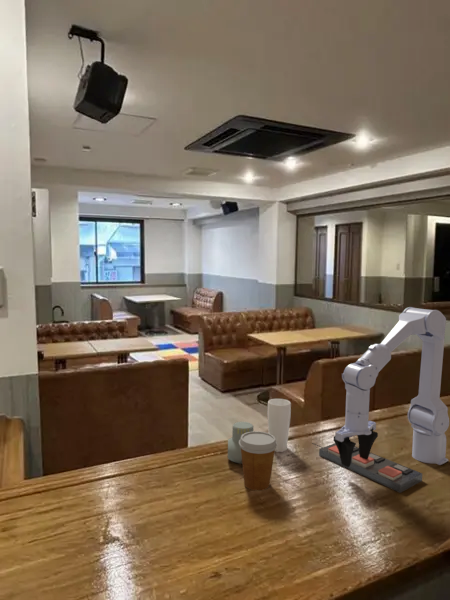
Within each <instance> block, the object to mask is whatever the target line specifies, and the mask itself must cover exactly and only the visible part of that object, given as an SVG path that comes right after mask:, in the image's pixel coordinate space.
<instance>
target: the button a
mask: <svg viewBox="0 0 450 600" xmlns="http://www.w3.org/2000/svg"><path fill="white" fill-rule="evenodd" d="M328 452H329V453H331V454H333V455H335V456H338V457H340V454H339V451H338V448H337V446H333V447H330V448H328Z"/></svg>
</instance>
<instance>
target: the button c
mask: <svg viewBox="0 0 450 600" xmlns="http://www.w3.org/2000/svg"><path fill="white" fill-rule="evenodd" d="M378 475H381V476H383V477H385V478H387V479H390V480H392V481H394V480H396V479H398V478H400V477H402V472H401V471H399V470H396V469H394V468H392V467H389V466H386V467H384V468H382V469H380V470H379V473H378Z"/></svg>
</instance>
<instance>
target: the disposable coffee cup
mask: <svg viewBox="0 0 450 600" xmlns="http://www.w3.org/2000/svg"><path fill="white" fill-rule="evenodd" d="M239 445H240V448H241V456H242V474H243V481H244V482H243V483H244V487H246V488H247V489H248V490H252V491H264V490H266V489H268V488H270V482H271V478H272V471H273V463H274V457H275V452H276V451H275V449H276V446H277V442H276V440H275V437H274V436H273V435H271V434H269V433H268V432H265V431H257V430H255V431H254V430H253V432H247V433H244V434H242V436H241V438H240V440H239Z"/></svg>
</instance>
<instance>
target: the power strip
mask: <svg viewBox="0 0 450 600" xmlns="http://www.w3.org/2000/svg"><path fill="white" fill-rule="evenodd" d="M311 444H312V445H314V446H317V447H318V448H319V451H318V456H320V457H322V458H324V459H326V460H327V461H330V462H331V463H335V464H337V465H339V466H341V467H343V468H345V469H347V470H350V471H352V472H354V473H356V474H359V475H360V476H362V477H365V478H367V479H370V480H371V481H373V482H375V483H378V484H380V485H382V486H384V487H387V488H388V489H391V490H393V491H396V492H397V493H399V494H400V493H403V492H404V491H407V490H409V489H410V488H411V487H414V486H415V485H417V484H419V483H421V482H423V473H422V472H419V471H417V470H415V469H412V468H410V467H407V466H405V465H402V464H399V463H397V462H395V461H393V460H390V459H387V458H385V457H383V456H380V455H377V454H376V453H372V452H370V454H369V457H371V458H373V459H374V464H373V465H371V466H369V467H367V468H363V467H360V466H358V465H356V464H354V463H352V458H351V464H350V467H346V466H344V465H342V463H341V458H340V457H338V456H335V455H333V454H331V453H329V452H328V448H330V447H333V446H336V444H335V442H334V443H331V444H329V445H326V446H320V445H318V444H316V443H314V442H311ZM356 455H359V446H356V445H355V447H354V449H353V452H352V457H354V456H356ZM386 466H389V467H392V468H394V469H396V470H399V471H401V472H402V477H400V478H398V479H396V480H394V481H392V480H390V479H387V478H385V477H383V476H381V475H378V473H379V470H380V469H382V468H384V467H386Z"/></svg>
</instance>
